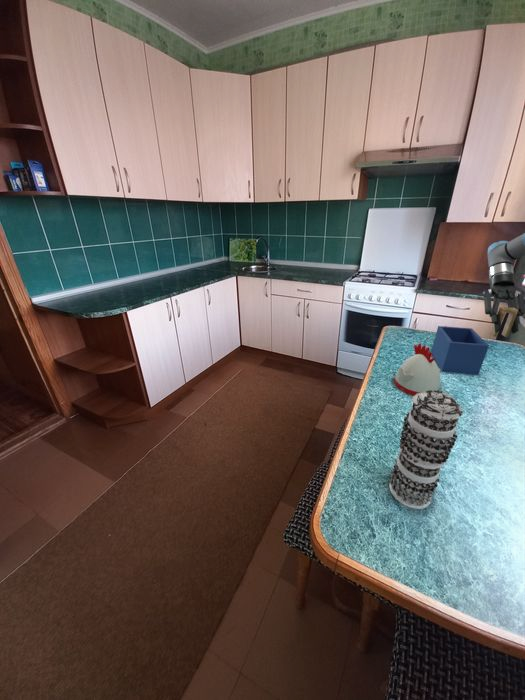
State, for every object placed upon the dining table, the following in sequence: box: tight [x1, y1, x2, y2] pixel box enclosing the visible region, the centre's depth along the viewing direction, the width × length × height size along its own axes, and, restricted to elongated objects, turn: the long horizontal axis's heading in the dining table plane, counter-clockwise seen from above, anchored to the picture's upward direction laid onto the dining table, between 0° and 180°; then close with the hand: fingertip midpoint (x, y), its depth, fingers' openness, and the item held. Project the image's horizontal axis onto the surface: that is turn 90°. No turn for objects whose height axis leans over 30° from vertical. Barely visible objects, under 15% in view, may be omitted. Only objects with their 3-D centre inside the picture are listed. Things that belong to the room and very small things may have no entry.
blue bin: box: [430, 325, 490, 376], centre depth 111 cm, size 16×12×12 cm
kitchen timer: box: [393, 343, 442, 396], centre depth 97 cm, size 14×14×15 cm
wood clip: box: [490, 306, 518, 338], centre depth 111 cm, size 5×3×11 cm, turn 75°
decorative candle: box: [388, 390, 463, 510], centre depth 58 cm, size 9×9×25 cm
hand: (506, 331), depth 109 cm, fingers closed on wood clip, 5 cm apart
